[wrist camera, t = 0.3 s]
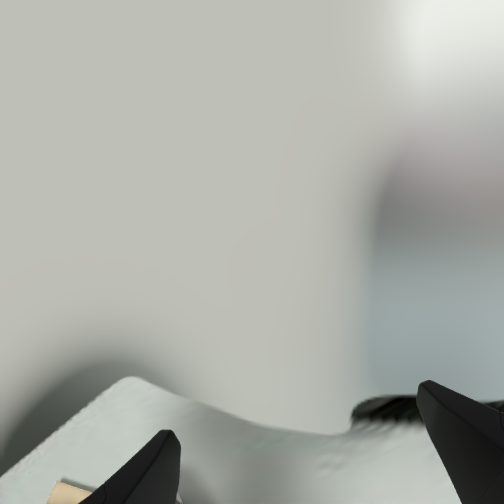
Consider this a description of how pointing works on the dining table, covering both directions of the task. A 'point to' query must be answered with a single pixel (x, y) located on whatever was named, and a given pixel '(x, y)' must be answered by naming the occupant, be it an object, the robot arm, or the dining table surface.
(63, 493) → the coaster
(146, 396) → the dining table surface
